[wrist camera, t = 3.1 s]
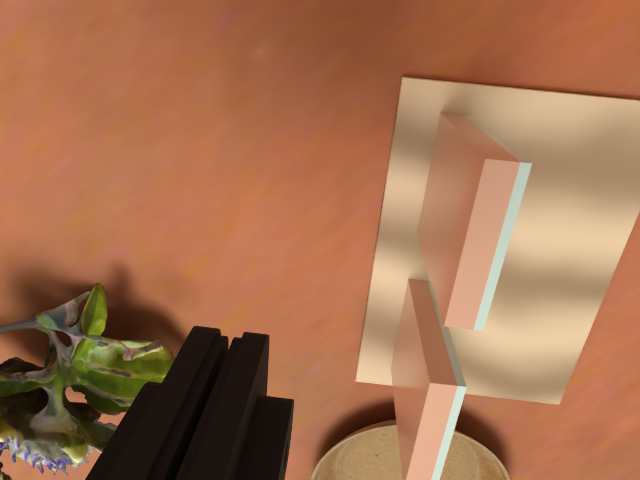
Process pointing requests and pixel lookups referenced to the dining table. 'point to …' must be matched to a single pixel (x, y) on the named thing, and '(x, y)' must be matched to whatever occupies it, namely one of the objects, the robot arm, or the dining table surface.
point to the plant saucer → (384, 457)
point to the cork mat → (514, 231)
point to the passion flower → (72, 385)
